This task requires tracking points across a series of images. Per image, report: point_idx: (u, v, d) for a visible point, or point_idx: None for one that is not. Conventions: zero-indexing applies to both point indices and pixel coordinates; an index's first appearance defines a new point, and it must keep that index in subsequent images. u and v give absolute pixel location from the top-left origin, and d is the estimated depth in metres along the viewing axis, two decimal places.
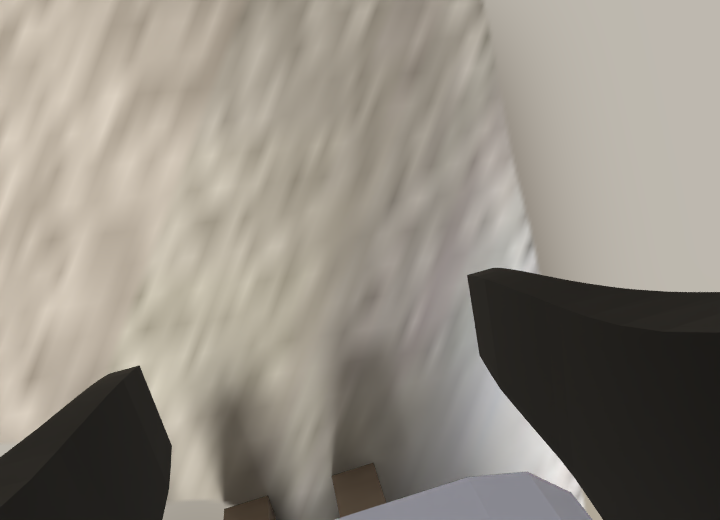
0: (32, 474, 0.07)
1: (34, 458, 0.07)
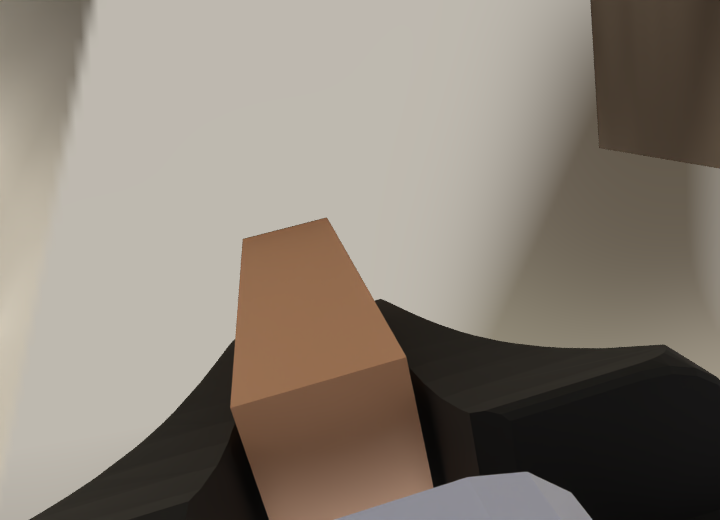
0: (230, 416, 0.07)
1: (220, 404, 0.07)
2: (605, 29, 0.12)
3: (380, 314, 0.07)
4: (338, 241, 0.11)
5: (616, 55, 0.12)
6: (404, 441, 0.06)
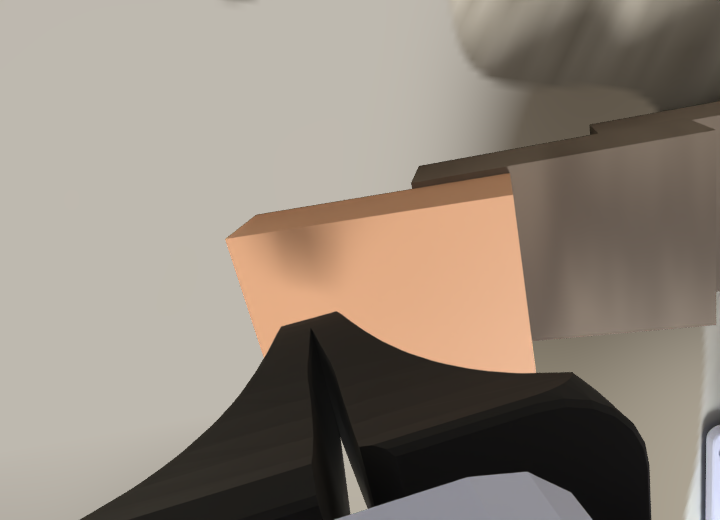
0: (303, 395, 0.07)
1: (288, 385, 0.08)
2: None
3: (456, 183, 0.14)
4: (324, 204, 0.15)
5: None
6: None
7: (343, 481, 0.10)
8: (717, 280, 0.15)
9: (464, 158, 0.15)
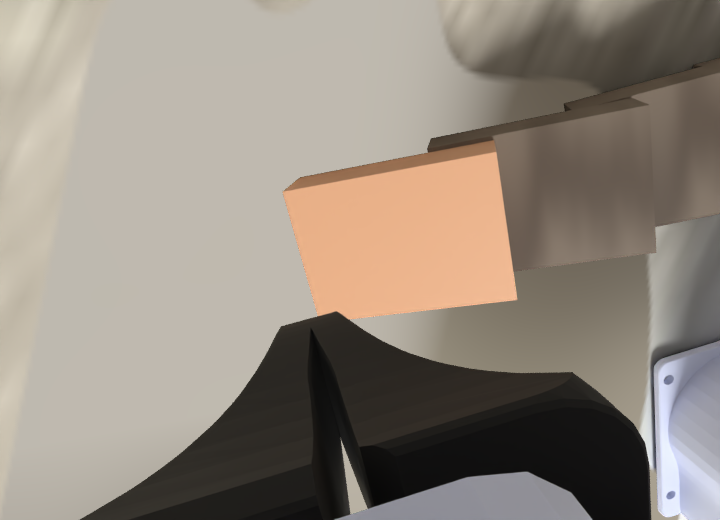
0: (303, 395, 0.07)
1: (288, 385, 0.08)
2: None
3: (454, 149, 0.18)
4: (353, 167, 0.19)
5: None
6: None
7: (343, 481, 0.10)
8: (671, 214, 0.20)
9: (466, 131, 0.20)
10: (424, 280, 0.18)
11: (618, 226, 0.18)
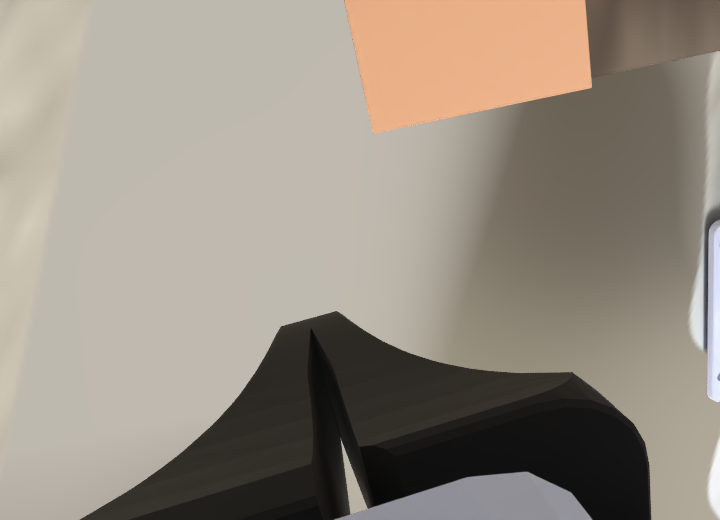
0: (303, 395, 0.07)
1: (289, 385, 0.08)
2: None
3: None
4: None
5: None
6: None
7: (343, 481, 0.10)
8: None
9: None
10: (490, 72, 0.17)
11: (702, 16, 0.17)
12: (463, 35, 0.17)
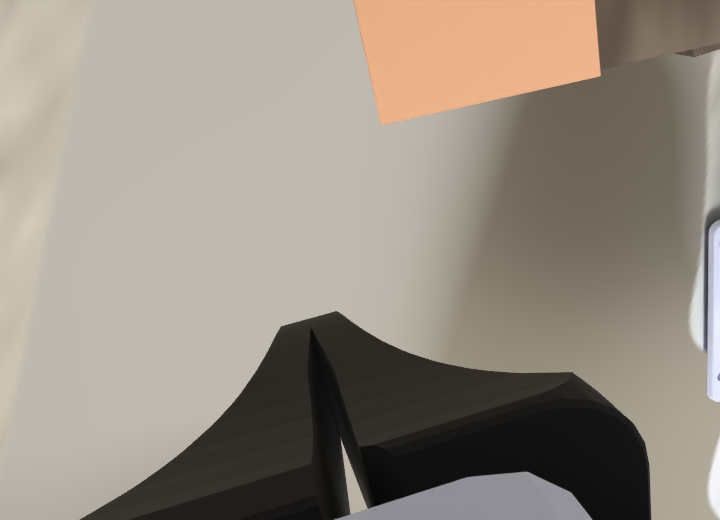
0: (303, 395, 0.07)
1: (289, 385, 0.08)
2: None
3: None
4: None
5: None
6: None
7: (343, 481, 0.10)
8: None
9: None
10: (499, 61, 0.17)
11: (714, 6, 0.17)
12: (471, 25, 0.17)
